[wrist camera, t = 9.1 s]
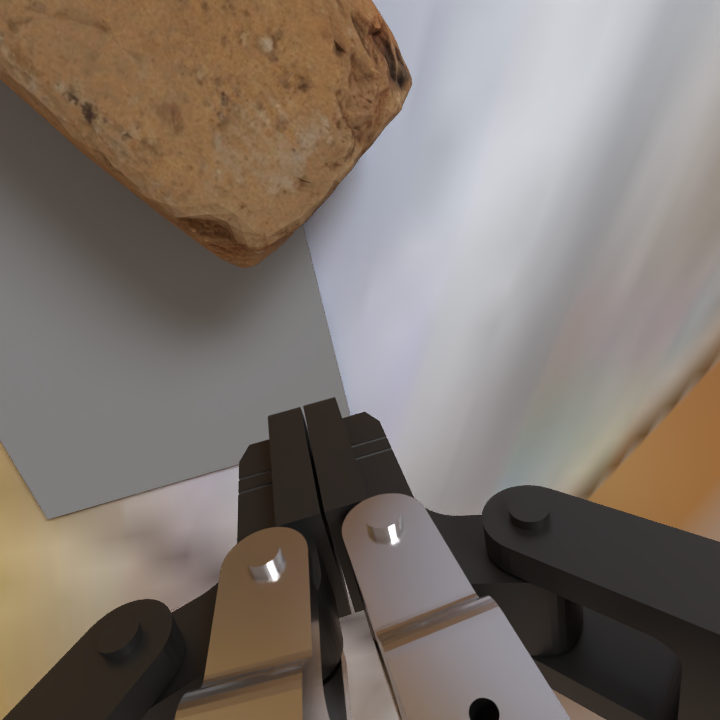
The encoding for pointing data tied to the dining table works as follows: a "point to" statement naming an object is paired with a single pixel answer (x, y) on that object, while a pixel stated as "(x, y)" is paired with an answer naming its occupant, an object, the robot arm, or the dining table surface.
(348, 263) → the dining table surface
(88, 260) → the mat
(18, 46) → the sandstone rock
